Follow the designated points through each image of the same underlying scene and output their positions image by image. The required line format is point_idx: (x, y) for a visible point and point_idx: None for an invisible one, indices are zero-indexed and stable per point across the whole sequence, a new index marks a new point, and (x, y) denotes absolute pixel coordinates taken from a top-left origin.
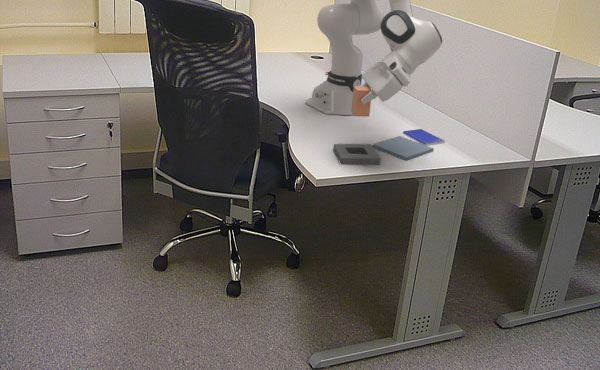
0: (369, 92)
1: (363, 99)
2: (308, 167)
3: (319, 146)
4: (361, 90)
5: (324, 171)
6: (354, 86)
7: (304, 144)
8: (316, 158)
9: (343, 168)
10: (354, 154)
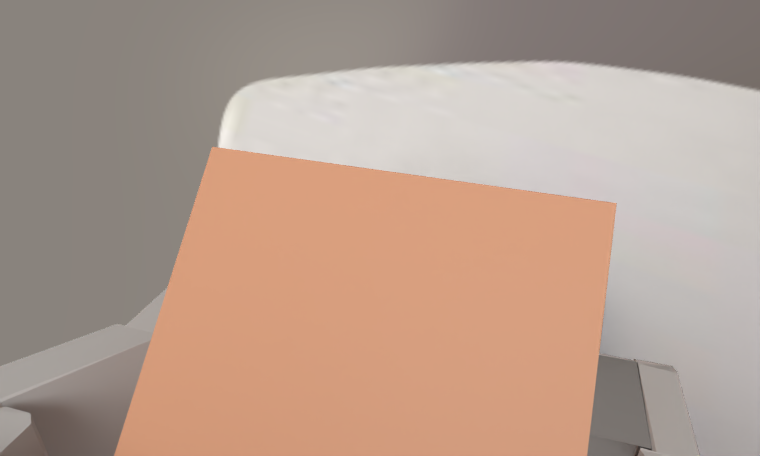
0: (21, 411)
1: None
2: (360, 75)
3: (670, 223)
4: (182, 253)
5: (294, 134)
6: (556, 200)
7: (714, 142)
8: (469, 146)
9: None
10: None
